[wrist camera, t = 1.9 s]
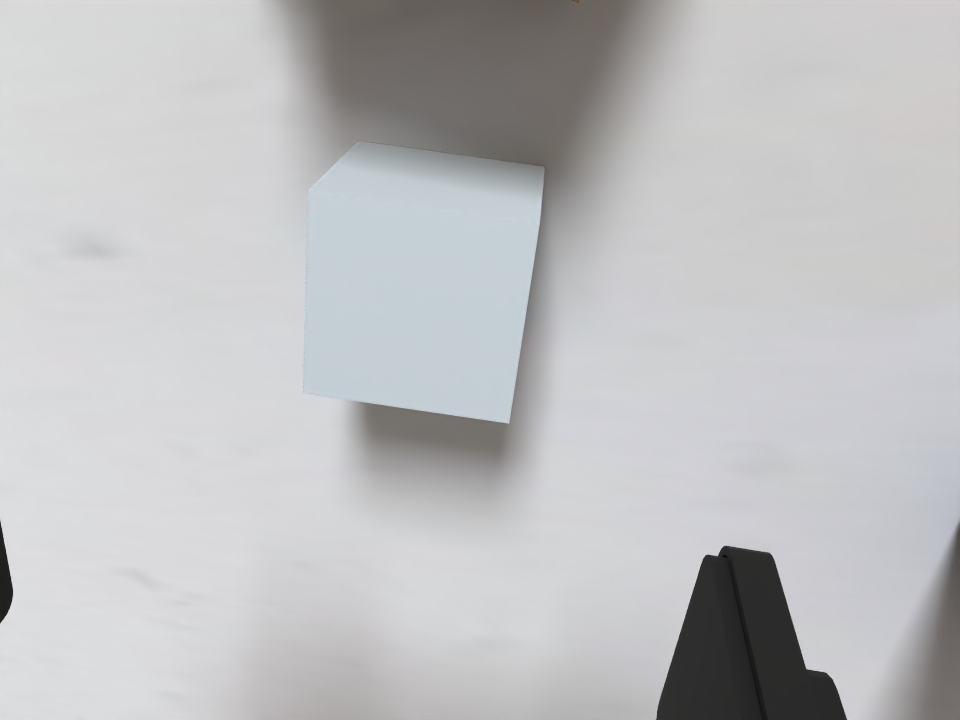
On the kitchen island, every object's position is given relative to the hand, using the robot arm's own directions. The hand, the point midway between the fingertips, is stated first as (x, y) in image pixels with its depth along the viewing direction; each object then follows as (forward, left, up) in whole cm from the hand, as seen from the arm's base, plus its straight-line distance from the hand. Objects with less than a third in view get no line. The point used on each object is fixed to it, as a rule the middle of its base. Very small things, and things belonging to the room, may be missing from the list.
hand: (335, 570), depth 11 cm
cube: (-1, 0, -14) cm, 14 cm away
